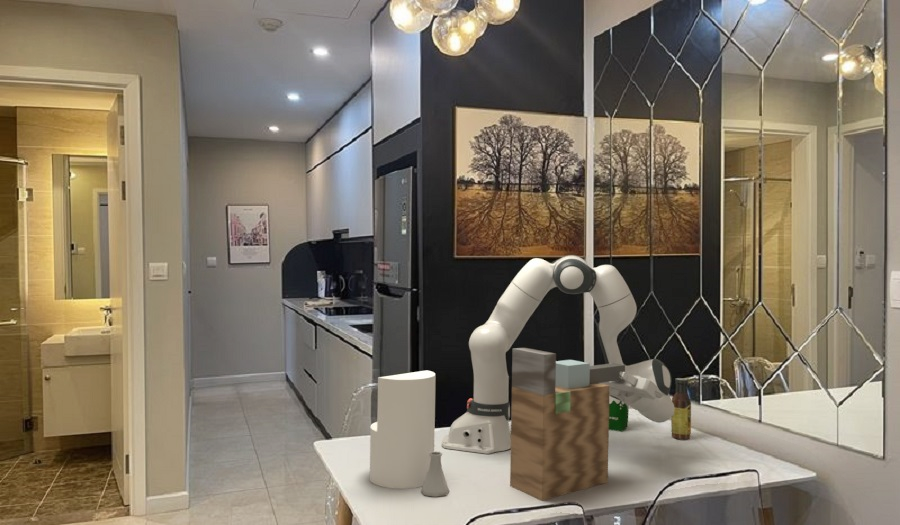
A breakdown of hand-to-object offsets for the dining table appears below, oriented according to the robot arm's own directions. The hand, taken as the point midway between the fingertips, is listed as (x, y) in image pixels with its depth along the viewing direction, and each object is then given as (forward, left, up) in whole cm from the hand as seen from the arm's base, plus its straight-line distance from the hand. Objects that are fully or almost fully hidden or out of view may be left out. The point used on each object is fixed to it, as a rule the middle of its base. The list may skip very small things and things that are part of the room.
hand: (608, 371), depth 182 cm
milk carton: (+6, +50, -29) cm, 58 cm away
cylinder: (-55, -17, -29) cm, 64 cm away
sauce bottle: (+27, +42, -29) cm, 58 cm away
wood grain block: (-13, -13, -28) cm, 34 cm away
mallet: (-5, -5, -2) cm, 8 cm away
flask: (-44, -26, -29) cm, 58 cm away
